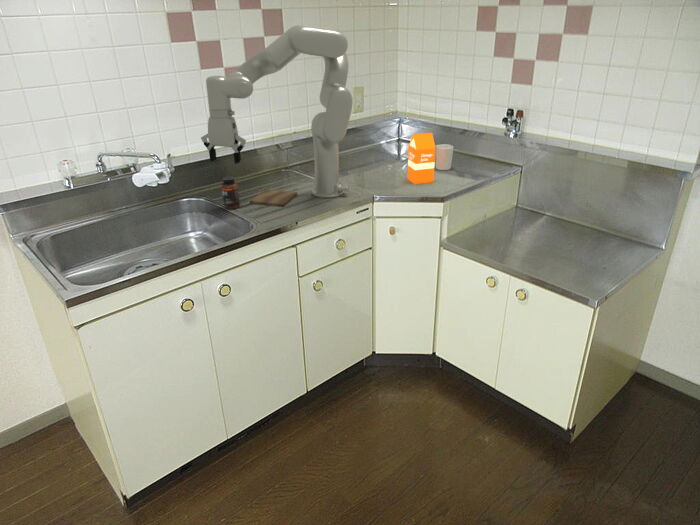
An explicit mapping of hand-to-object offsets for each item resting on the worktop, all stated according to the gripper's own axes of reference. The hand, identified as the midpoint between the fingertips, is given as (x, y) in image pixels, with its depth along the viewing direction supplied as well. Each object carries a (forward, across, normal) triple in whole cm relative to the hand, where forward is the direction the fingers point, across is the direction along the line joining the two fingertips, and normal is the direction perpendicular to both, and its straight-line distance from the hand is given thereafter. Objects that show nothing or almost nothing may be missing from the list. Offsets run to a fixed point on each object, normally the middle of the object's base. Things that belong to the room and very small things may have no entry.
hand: (225, 161), depth 192 cm
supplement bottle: (+18, -1, 0) cm, 18 cm away
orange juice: (+16, -64, -50) cm, 83 cm away
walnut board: (+17, -13, -12) cm, 25 cm away
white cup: (+16, -71, -70) cm, 101 cm away
